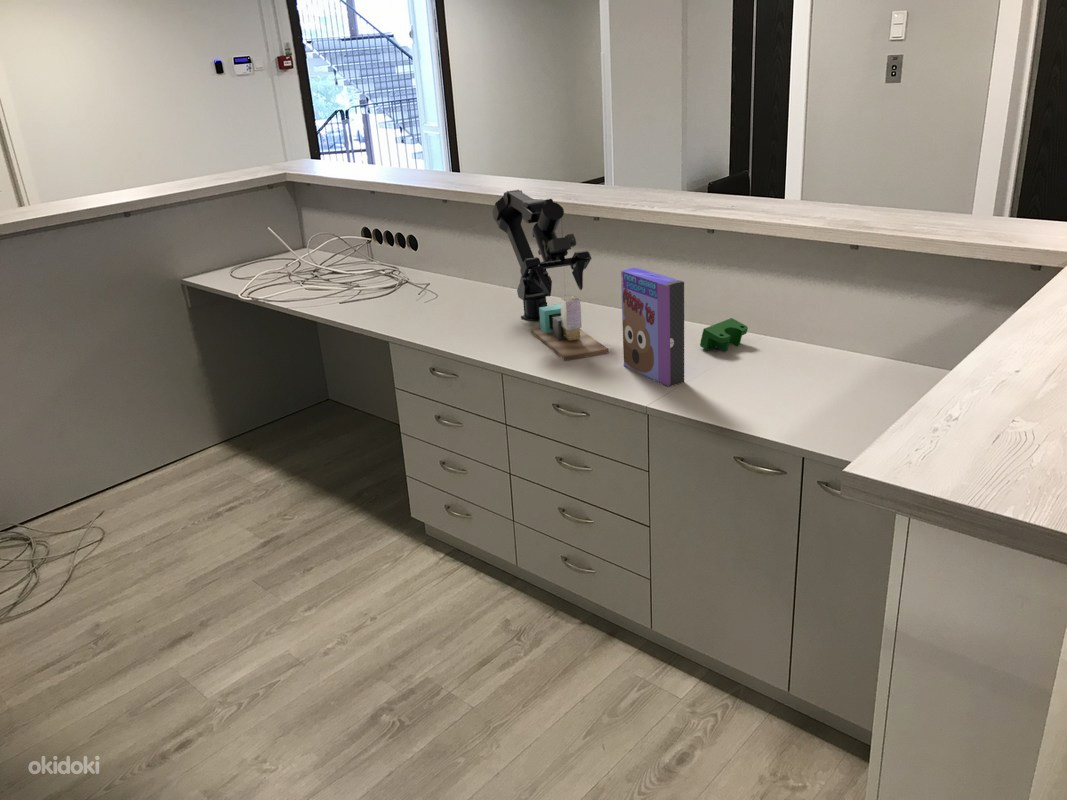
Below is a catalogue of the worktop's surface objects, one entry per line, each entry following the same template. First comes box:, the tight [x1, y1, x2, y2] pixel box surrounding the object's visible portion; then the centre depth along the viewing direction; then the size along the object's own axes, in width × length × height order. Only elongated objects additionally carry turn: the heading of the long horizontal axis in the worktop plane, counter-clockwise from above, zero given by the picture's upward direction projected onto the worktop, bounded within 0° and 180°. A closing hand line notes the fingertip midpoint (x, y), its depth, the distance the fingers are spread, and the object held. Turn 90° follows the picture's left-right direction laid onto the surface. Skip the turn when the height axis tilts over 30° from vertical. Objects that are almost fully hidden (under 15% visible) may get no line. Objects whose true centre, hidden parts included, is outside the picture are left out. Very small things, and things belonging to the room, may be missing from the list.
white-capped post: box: [549, 295, 582, 341], centre depth 233 cm, size 16×4×10 cm, turn 20°
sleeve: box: [553, 316, 567, 341], centre depth 233 cm, size 4×5×5 cm
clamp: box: [699, 317, 749, 353], centre depth 221 cm, size 12×6×9 cm, turn 124°
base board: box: [530, 327, 610, 362], centre depth 233 cm, size 26×12×1 cm, turn 20°
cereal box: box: [620, 267, 685, 388], centre depth 204 cm, size 17×5×24 cm, turn 29°
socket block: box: [539, 303, 561, 333], centre depth 240 cm, size 4×7×6 cm, turn 110°
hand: (565, 291), depth 230 cm, fingers open, 9 cm apart
